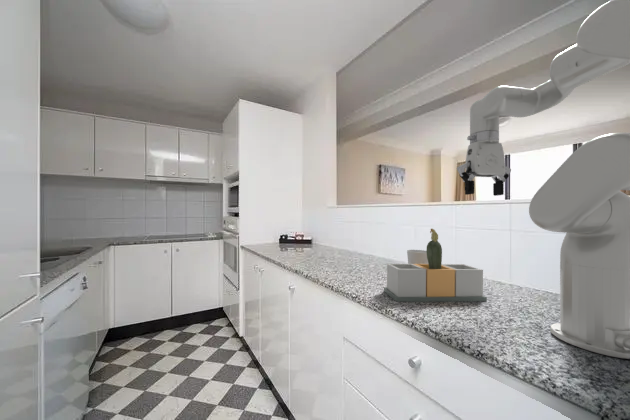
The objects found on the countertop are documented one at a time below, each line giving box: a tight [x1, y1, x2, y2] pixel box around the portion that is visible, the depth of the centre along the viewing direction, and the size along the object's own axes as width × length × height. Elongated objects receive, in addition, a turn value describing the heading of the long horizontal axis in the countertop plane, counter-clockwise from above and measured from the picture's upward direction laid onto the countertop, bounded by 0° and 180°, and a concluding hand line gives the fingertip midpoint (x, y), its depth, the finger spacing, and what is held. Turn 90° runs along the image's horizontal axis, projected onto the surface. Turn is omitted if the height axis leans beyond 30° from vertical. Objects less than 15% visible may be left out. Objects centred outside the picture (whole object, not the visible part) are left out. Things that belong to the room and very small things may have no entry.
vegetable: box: [425, 228, 443, 269], centre depth 77 cm, size 4×4×20 cm
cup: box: [406, 249, 428, 264], centre depth 92 cm, size 8×8×12 cm
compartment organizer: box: [383, 263, 488, 303], centre depth 77 cm, size 10×28×9 cm, turn 95°
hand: (484, 194), depth 76 cm, fingers open, 9 cm apart
